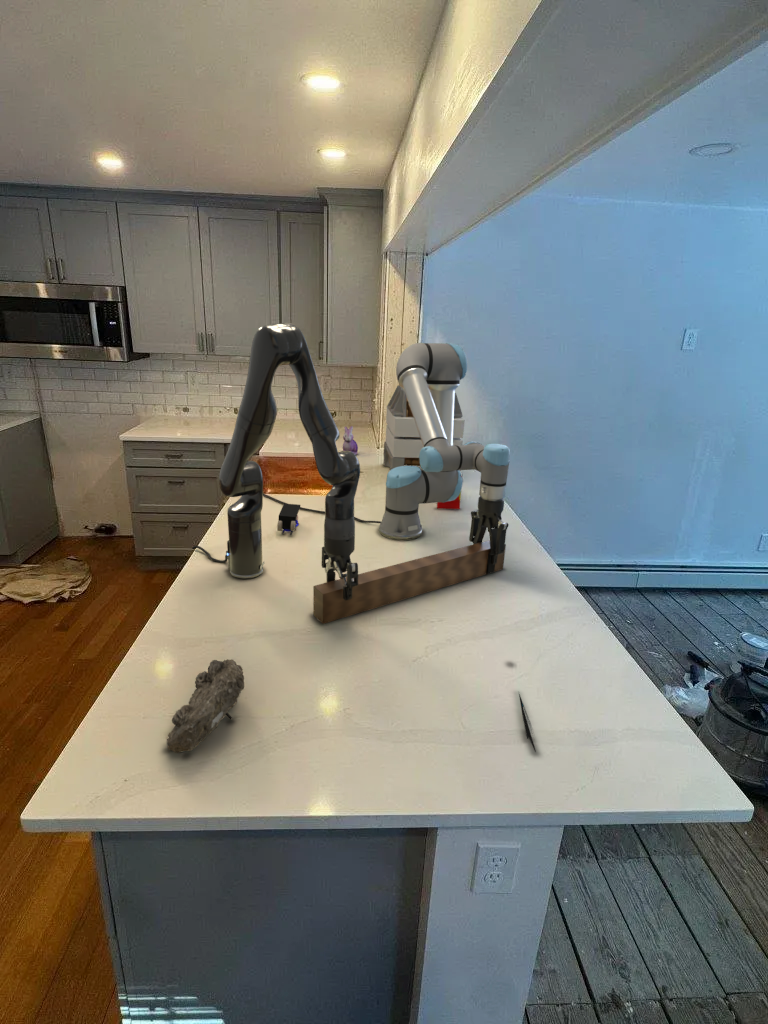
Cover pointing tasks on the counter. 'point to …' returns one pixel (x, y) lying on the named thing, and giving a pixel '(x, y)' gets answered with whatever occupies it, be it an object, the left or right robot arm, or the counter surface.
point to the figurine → (349, 441)
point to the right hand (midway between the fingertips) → (483, 568)
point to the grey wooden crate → (409, 432)
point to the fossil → (206, 705)
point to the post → (402, 581)
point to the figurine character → (288, 518)
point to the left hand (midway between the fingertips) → (339, 592)
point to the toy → (450, 503)
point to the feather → (526, 723)
